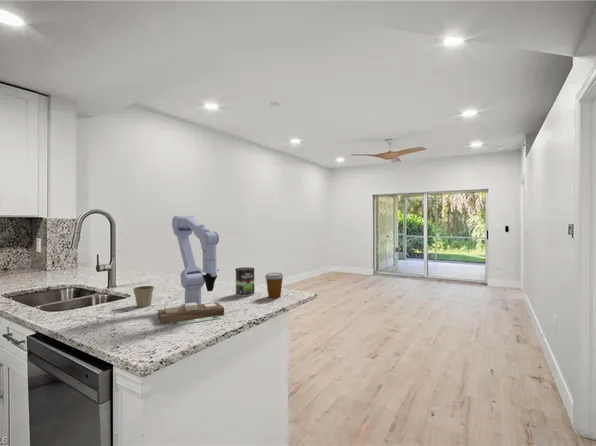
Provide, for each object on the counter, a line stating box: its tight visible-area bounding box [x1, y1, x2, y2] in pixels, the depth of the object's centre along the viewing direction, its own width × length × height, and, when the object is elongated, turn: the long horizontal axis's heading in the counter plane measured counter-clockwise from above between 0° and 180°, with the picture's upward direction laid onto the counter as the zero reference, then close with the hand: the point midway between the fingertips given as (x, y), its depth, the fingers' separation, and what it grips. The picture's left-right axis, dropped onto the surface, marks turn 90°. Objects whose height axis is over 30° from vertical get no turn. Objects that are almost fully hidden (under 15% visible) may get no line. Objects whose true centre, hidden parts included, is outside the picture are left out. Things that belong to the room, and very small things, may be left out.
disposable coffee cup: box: [264, 272, 284, 299], centre depth 173 cm, size 10×10×12 cm
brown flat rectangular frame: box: [157, 302, 225, 325], centre depth 140 cm, size 11×25×3 cm, turn 119°
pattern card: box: [169, 315, 221, 327], centre depth 133 cm, size 4×19×1 cm, turn 119°
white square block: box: [203, 302, 217, 308], centre depth 144 cm, size 4×4×3 cm
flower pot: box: [132, 285, 155, 308], centre depth 158 cm, size 9×9×9 cm
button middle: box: [184, 302, 198, 311], centre depth 140 cm, size 4×4×3 cm
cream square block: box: [164, 304, 178, 314], centre depth 136 cm, size 4×4×3 cm
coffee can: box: [234, 266, 255, 297], centre depth 180 cm, size 10×10×14 cm
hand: (209, 290), depth 144 cm, fingers closed
